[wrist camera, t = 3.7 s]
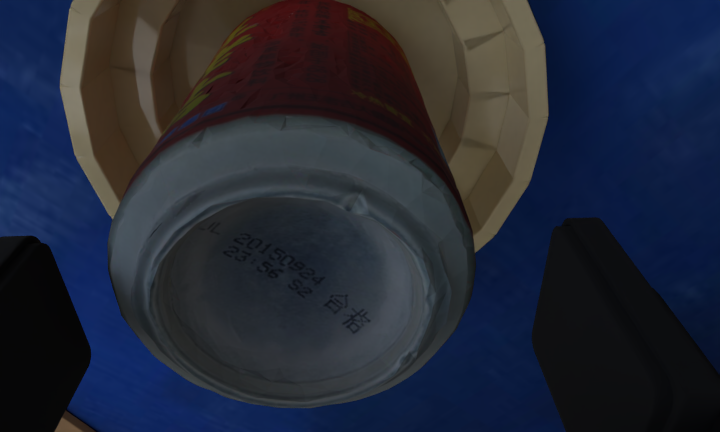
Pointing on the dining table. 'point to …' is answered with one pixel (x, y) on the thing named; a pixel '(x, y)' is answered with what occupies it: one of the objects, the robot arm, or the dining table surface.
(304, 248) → the soda can
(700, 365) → the robot arm
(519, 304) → the dining table surface
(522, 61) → the bowl
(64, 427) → the cork mat
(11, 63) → the dining table surface
